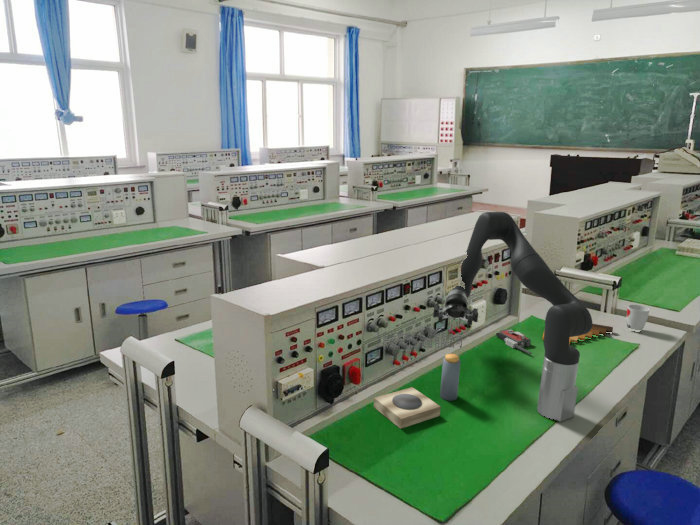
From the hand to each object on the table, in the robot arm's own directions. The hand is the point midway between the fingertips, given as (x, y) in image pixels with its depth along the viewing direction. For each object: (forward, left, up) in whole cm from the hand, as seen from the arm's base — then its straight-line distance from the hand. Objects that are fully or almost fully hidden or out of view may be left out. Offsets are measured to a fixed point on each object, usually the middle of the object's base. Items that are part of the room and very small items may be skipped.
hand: (455, 321), depth 171 cm
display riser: (-9, +24, -21) cm, 33 cm away
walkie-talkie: (+11, -44, -21) cm, 50 cm away
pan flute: (+5, -73, -21) cm, 76 cm away
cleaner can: (-8, +7, -21) cm, 23 cm away
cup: (-2, -101, -21) cm, 103 cm away
